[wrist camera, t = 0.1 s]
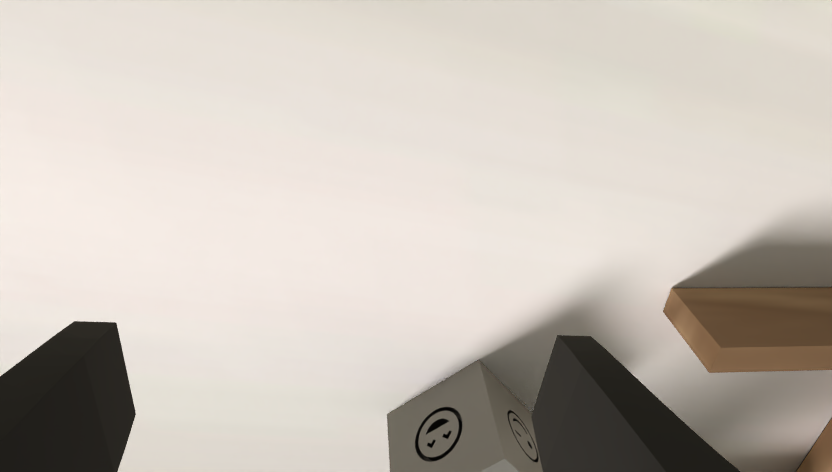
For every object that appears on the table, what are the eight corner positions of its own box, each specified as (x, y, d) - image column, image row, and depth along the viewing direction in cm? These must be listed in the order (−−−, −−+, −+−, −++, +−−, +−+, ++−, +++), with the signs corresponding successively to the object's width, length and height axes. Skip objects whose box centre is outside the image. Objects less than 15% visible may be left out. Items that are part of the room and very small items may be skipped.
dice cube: (535, 416, 25) (571, 518, 21) (449, 464, 27) (466, 569, 22) (478, 357, 23) (504, 458, 19) (386, 412, 24) (392, 518, 20)
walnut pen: (801, 492, 31) (849, 555, 28) (591, 502, 29) (618, 569, 26) (943, 286, 23) (1029, 342, 20) (671, 288, 22) (720, 347, 19)
